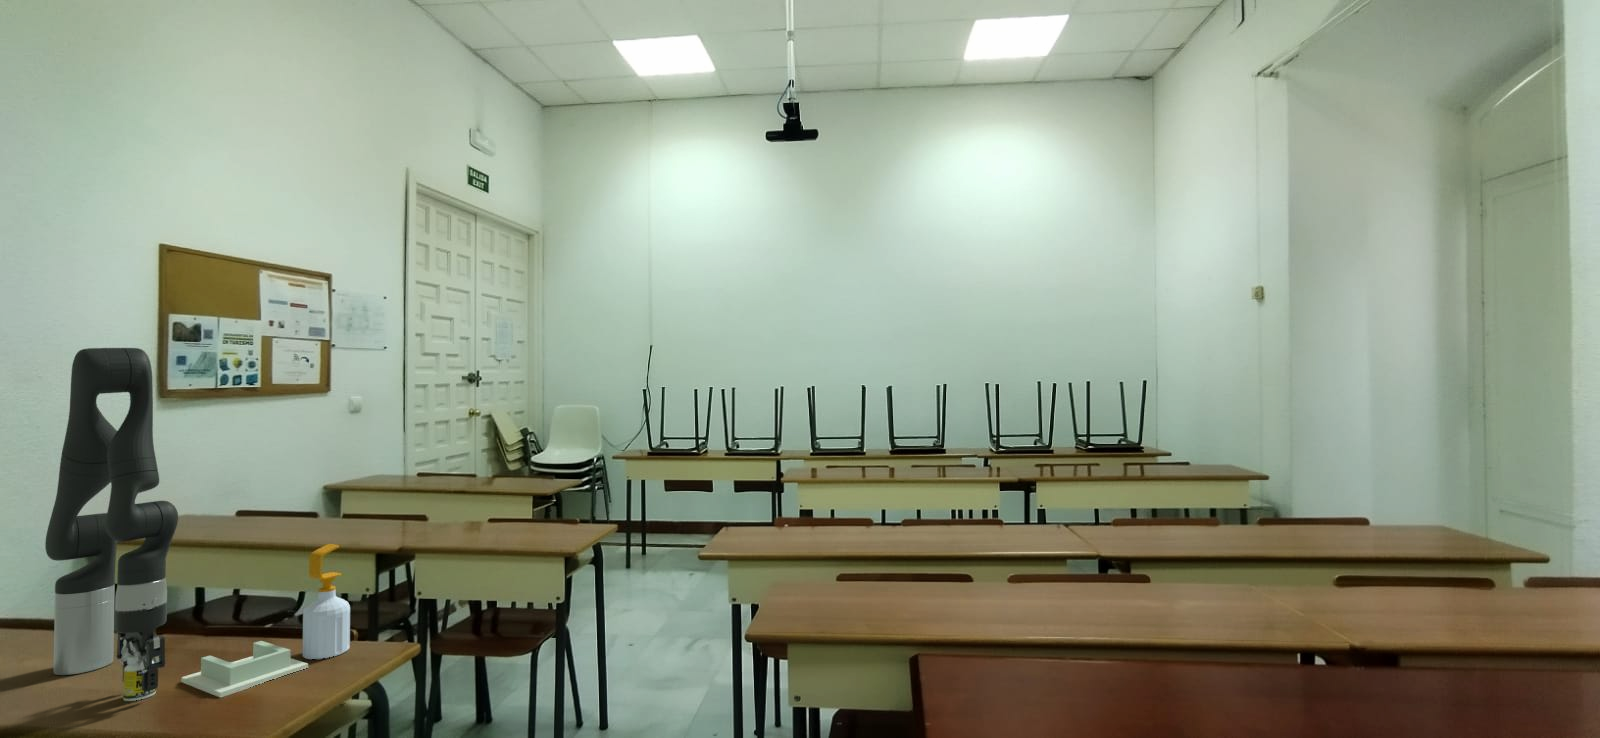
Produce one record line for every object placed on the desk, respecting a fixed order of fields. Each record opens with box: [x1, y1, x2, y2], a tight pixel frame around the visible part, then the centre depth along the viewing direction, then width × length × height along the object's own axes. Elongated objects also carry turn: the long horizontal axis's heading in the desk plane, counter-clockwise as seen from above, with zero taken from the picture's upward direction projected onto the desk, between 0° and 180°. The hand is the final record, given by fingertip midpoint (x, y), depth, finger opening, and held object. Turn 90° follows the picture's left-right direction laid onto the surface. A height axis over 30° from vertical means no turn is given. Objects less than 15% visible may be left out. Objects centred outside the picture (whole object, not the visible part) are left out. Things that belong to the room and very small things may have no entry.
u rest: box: [180, 640, 309, 698], centre depth 149 cm, size 16×16×4 cm
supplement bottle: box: [122, 655, 157, 702], centre depth 139 cm, size 5×5×8 cm
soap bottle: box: [302, 543, 351, 660], centre depth 161 cm, size 9×9×25 cm
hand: (140, 685), depth 139 cm, fingers open, 8 cm apart
